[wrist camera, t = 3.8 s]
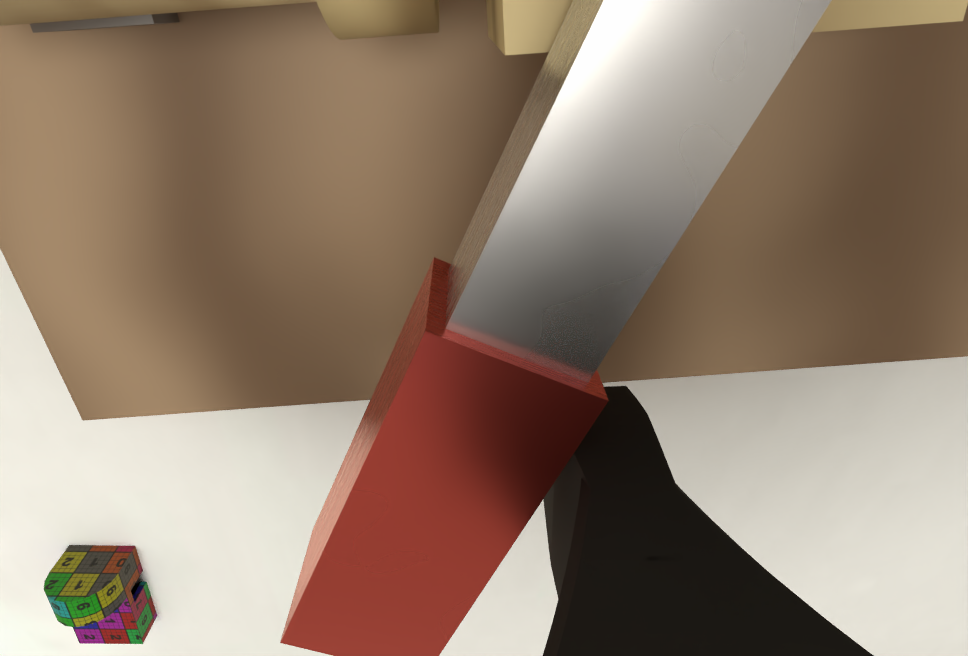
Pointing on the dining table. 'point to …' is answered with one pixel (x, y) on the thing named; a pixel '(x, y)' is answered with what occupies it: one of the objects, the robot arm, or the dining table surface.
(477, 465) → the valve lever
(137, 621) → the puzzle cube
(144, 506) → the dining table surface
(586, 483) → the robot arm
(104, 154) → the valve board
